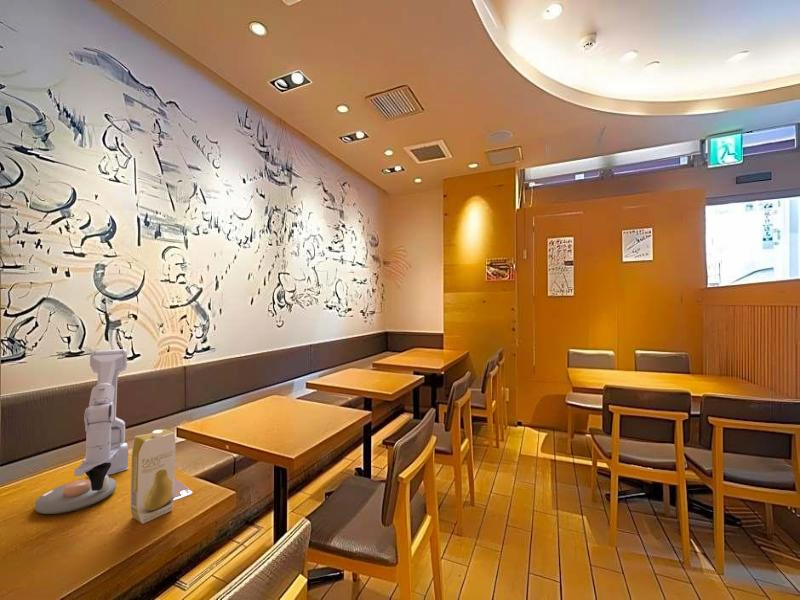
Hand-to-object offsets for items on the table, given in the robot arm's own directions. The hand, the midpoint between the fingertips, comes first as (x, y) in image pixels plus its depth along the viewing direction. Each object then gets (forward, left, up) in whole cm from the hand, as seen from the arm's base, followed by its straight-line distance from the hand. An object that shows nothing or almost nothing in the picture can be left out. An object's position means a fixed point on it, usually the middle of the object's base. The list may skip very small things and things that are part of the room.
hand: (97, 489), depth 104 cm
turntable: (+3, -6, -3) cm, 7 cm away
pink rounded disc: (+4, -6, -1) cm, 7 cm away
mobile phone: (-17, +10, -4) cm, 20 cm away
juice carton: (-9, +20, -4) cm, 22 cm away
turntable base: (+3, -6, -4) cm, 8 cm away
